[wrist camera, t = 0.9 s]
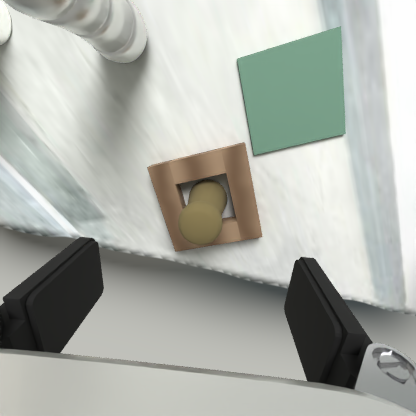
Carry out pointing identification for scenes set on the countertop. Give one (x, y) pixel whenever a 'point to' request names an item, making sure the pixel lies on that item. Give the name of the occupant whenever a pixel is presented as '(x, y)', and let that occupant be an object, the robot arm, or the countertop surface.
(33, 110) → the countertop surface
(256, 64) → the mat
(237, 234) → the socket
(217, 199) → the cork
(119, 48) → the plastic bottle
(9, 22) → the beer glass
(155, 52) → the countertop surface
